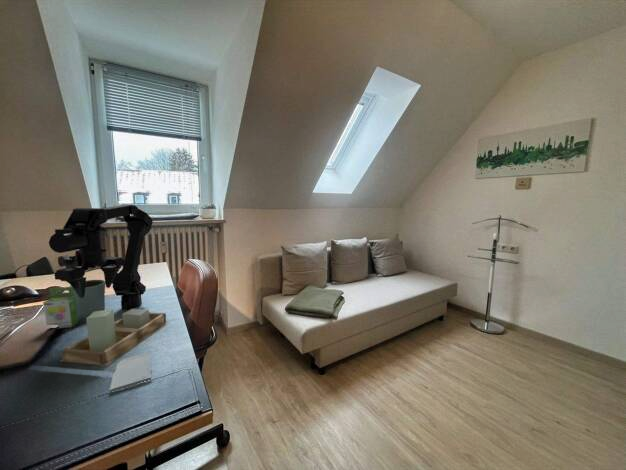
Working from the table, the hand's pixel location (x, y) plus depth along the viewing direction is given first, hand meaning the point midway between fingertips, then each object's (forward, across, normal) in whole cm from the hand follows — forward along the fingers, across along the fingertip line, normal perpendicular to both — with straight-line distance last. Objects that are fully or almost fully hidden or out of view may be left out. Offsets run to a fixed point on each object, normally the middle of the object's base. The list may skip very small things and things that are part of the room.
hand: (95, 292), depth 84 cm
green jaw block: (+12, +12, +14) cm, 22 cm away
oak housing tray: (+13, +6, +14) cm, 20 cm away
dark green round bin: (+13, -10, -14) cm, 22 cm away
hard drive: (+14, +18, +29) cm, 37 cm away
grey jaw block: (+12, 0, +14) cm, 18 cm away
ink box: (+13, 0, -14) cm, 19 cm away
